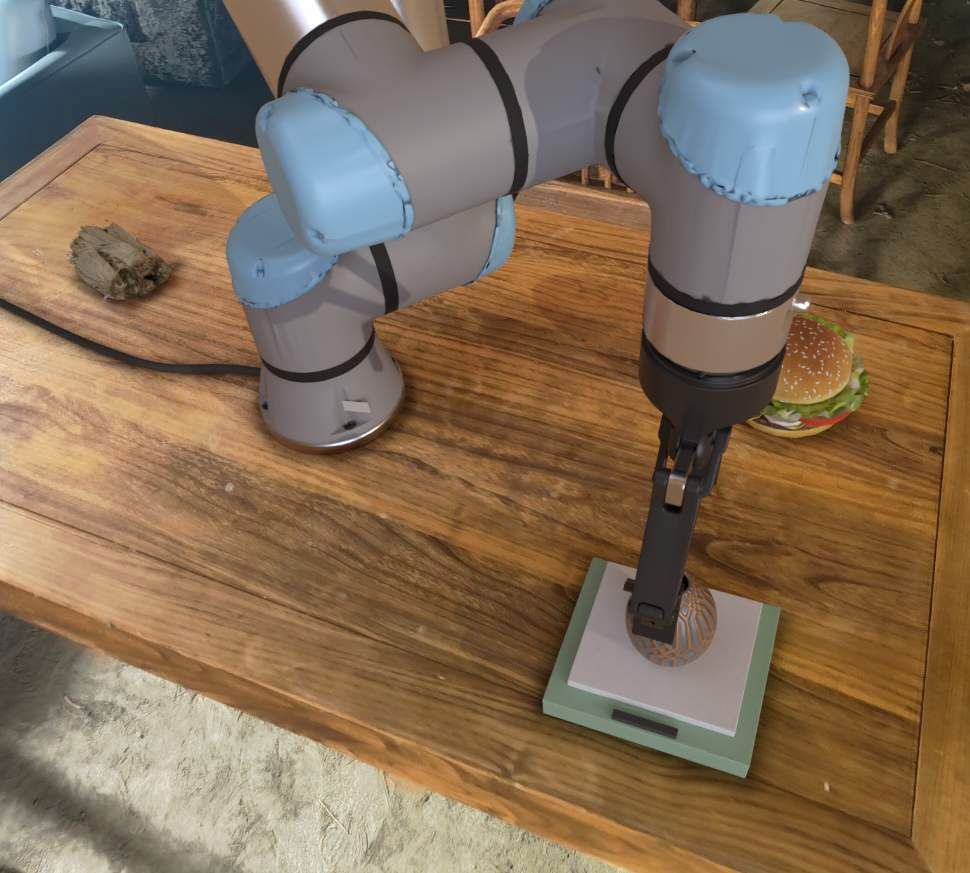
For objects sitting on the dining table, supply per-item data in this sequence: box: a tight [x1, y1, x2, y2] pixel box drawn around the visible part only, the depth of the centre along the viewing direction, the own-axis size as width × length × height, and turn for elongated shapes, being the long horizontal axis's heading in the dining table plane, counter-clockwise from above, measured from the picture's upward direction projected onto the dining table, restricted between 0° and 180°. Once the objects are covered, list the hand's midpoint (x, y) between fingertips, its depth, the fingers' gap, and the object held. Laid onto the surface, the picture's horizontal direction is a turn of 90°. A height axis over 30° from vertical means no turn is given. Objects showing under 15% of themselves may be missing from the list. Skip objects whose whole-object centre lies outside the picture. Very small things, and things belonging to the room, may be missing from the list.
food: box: [744, 313, 871, 439], centre depth 91 cm, size 14×14×8 cm
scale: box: [541, 556, 782, 779], centre depth 75 cm, size 16×14×3 cm
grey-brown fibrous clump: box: [65, 219, 175, 304], centre depth 113 cm, size 14×10×5 cm, turn 47°
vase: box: [625, 570, 717, 667], centre depth 71 cm, size 7×7×9 cm
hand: (677, 551), depth 65 cm, fingers open, 13 cm apart
